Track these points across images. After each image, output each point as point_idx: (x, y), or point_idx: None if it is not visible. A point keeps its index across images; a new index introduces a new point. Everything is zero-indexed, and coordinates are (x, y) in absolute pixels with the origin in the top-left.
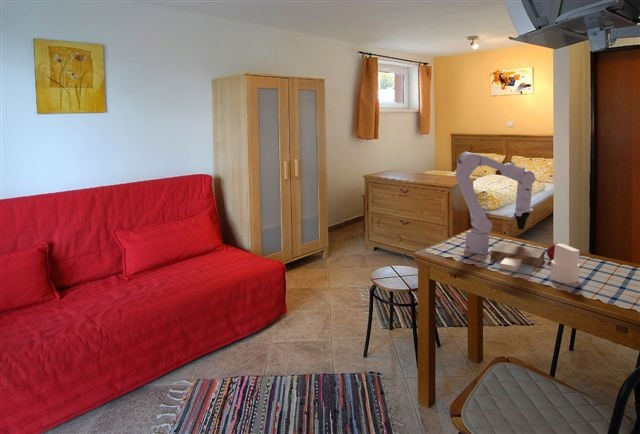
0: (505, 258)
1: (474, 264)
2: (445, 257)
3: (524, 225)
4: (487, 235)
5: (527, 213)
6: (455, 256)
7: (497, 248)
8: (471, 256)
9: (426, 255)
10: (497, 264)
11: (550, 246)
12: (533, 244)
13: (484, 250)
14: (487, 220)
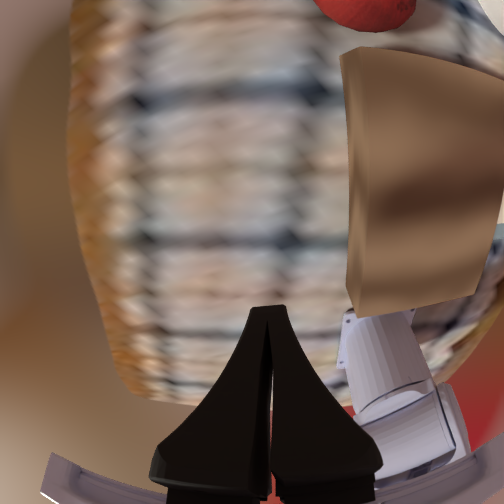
0: (498, 220)
1: (498, 282)
2: (454, 352)
3: (287, 335)
4: (422, 374)
5: (248, 493)
6: (444, 345)
7: (449, 288)
8: (436, 322)
9: (445, 376)
10: (500, 228)
11: (383, 4)
12: (96, 206)
13: (405, 320)
14: (466, 437)
